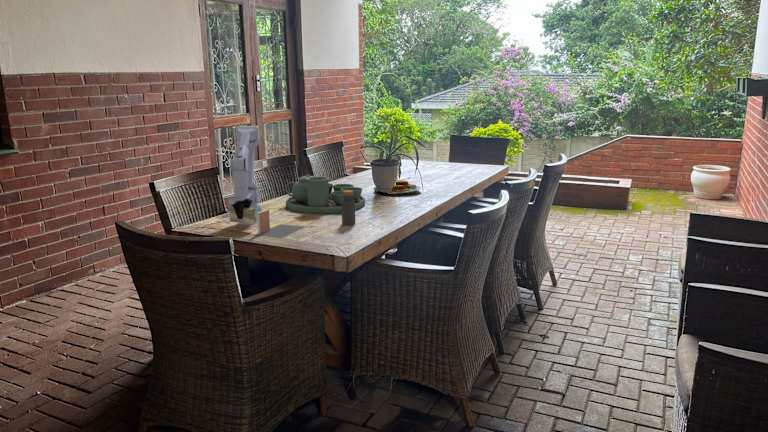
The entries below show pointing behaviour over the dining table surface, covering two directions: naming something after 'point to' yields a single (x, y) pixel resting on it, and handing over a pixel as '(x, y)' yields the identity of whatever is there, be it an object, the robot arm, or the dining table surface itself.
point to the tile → (263, 221)
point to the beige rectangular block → (248, 215)
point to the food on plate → (403, 187)
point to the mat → (281, 231)
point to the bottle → (348, 208)
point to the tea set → (320, 195)
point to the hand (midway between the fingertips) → (242, 217)
